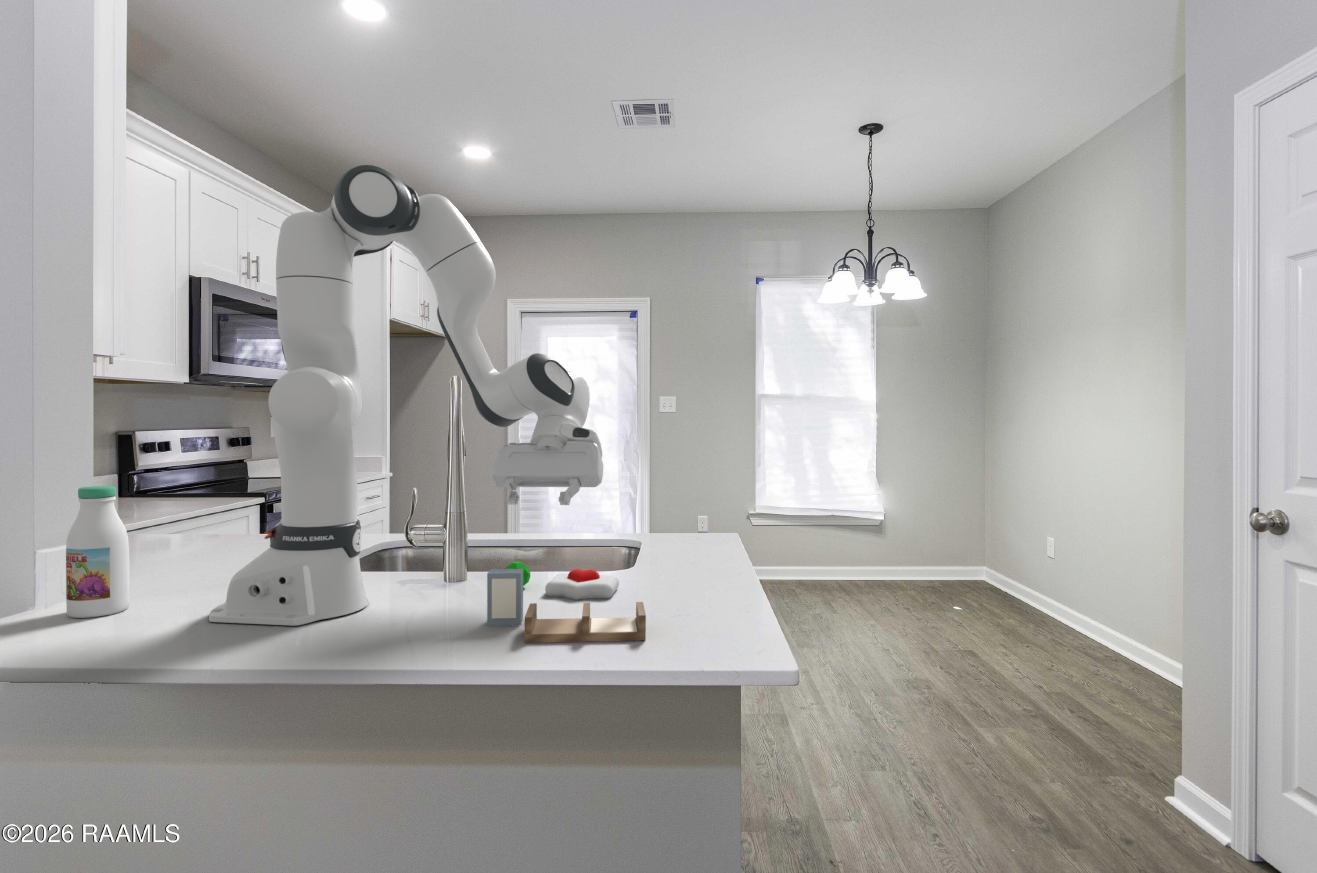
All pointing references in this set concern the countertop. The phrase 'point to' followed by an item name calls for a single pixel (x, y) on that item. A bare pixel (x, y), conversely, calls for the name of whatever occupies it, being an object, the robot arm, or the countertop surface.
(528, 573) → the polyhedron
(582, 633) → the wooden rack
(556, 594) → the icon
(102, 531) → the milk bottle
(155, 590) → the countertop surface
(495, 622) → the frame
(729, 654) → the countertop surface
